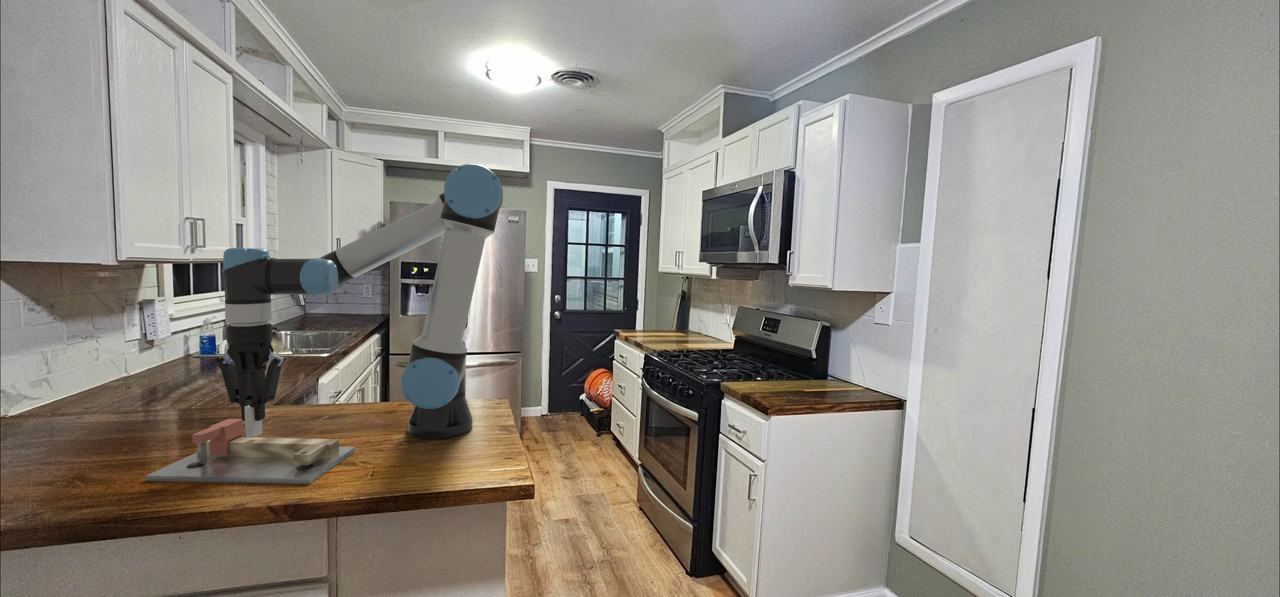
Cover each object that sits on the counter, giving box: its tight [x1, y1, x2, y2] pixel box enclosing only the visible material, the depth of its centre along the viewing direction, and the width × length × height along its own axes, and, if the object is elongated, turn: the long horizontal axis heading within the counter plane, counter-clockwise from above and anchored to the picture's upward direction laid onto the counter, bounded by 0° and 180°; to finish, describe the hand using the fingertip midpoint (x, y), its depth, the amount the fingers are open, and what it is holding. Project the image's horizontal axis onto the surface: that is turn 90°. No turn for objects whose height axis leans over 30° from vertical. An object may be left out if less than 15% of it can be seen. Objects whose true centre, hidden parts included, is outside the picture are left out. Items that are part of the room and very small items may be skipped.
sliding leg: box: [192, 418, 246, 464], centre depth 103 cm, size 3×10×6 cm, turn 2°
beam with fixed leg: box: [196, 436, 340, 468], centre depth 103 cm, size 27×8×3 cm, turn 92°
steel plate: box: [145, 446, 356, 485], centre depth 102 cm, size 30×16×1 cm, turn 92°
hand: (254, 435), depth 105 cm, fingers closed
